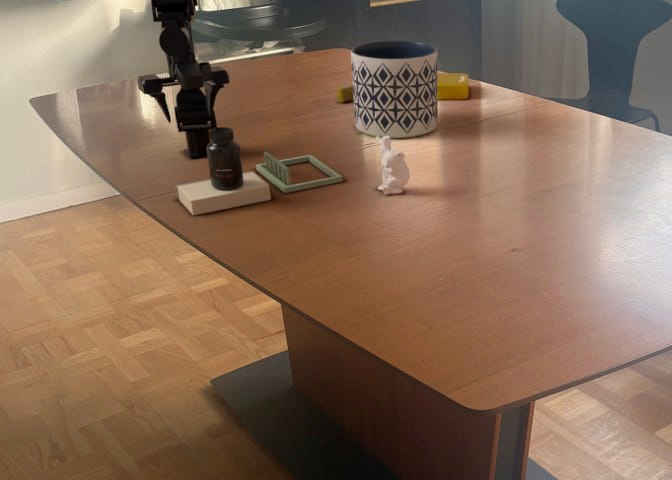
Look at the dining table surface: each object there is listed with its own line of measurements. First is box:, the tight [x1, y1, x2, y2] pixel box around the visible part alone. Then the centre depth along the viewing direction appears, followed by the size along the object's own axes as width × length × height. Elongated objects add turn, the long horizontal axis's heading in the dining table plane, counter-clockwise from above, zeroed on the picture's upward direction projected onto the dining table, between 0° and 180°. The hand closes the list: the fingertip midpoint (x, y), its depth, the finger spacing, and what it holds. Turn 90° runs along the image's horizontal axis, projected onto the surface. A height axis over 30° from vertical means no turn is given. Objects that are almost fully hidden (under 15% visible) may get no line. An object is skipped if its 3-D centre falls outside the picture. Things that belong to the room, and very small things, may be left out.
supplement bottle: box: [206, 126, 244, 190], centre depth 175 cm, size 7×7×12 cm
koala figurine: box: [375, 136, 411, 195], centre depth 181 cm, size 8×7×12 cm
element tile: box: [438, 72, 470, 101], centre depth 254 cm, size 15×15×5 cm
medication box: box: [336, 84, 354, 103], centre depth 248 cm, size 12×3×4 cm, turn 134°
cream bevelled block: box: [174, 170, 272, 216], centre depth 179 cm, size 11×17×3 cm, turn 122°
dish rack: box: [255, 150, 344, 194], centre depth 191 cm, size 18×14×5 cm
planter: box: [350, 39, 439, 139], centre depth 220 cm, size 22×22×20 cm
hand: (190, 119), depth 186 cm, fingers open, 9 cm apart
